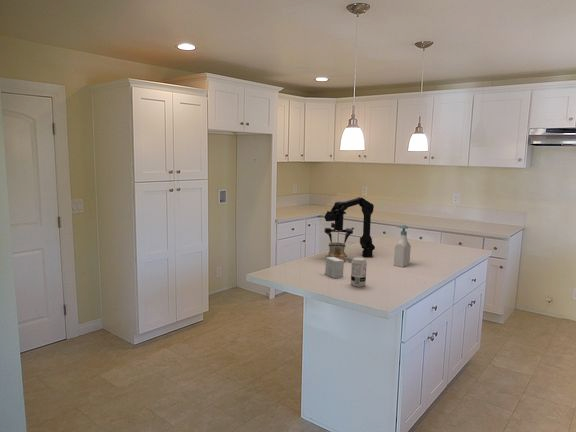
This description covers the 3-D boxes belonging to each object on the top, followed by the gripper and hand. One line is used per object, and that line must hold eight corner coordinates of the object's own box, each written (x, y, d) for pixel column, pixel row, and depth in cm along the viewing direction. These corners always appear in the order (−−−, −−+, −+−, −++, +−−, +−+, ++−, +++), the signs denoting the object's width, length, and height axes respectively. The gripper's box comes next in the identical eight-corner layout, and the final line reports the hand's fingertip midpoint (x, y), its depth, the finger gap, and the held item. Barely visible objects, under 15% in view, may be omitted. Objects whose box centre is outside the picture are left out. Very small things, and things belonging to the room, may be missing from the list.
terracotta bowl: (342, 260, 294) (343, 253, 293) (344, 263, 285) (345, 256, 284) (329, 259, 294) (330, 253, 293) (331, 263, 285) (331, 256, 284)
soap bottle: (398, 262, 292) (400, 223, 288) (409, 264, 287) (412, 224, 283) (391, 265, 283) (393, 225, 279) (402, 267, 278) (405, 226, 274)
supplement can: (349, 282, 241) (350, 257, 239) (363, 282, 241) (364, 257, 239) (352, 287, 233) (353, 260, 231) (367, 287, 233) (368, 260, 231)
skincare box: (343, 277, 252) (344, 260, 250) (334, 278, 248) (335, 261, 247) (333, 272, 261) (334, 256, 259) (324, 274, 257) (325, 257, 256)
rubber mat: (362, 259, 296) (362, 259, 296) (366, 264, 284) (366, 263, 284) (345, 259, 296) (345, 258, 296) (348, 263, 284) (348, 263, 284)
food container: (344, 256, 306) (345, 242, 304) (345, 258, 300) (345, 244, 298) (327, 255, 307) (328, 241, 306) (327, 257, 301) (328, 243, 299)
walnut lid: (344, 253, 294) (344, 246, 294) (346, 257, 283) (347, 250, 283) (328, 253, 294) (328, 246, 293) (330, 256, 283) (330, 249, 282)
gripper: (350, 219, 294) (349, 241, 296) (323, 218, 293) (323, 240, 295) (353, 221, 283) (352, 244, 285) (325, 221, 282) (324, 243, 284)
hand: (337, 243), depth 288 cm, fingers open, 9 cm apart
